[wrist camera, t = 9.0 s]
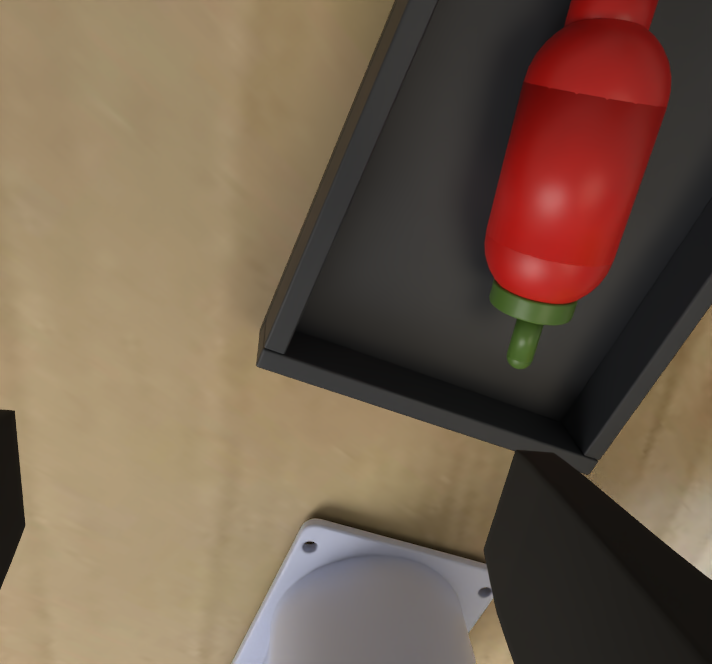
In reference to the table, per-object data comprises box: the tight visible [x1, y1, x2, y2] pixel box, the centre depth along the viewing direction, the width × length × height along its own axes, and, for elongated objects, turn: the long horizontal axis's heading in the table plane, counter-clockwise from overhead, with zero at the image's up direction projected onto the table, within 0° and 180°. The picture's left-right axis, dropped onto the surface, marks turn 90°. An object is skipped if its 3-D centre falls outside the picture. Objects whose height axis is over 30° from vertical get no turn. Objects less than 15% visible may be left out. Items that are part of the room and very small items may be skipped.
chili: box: [484, 0, 671, 369], centre depth 15 cm, size 10×3×3 cm, turn 171°
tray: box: [256, 0, 712, 475], centre depth 16 cm, size 15×11×2 cm
